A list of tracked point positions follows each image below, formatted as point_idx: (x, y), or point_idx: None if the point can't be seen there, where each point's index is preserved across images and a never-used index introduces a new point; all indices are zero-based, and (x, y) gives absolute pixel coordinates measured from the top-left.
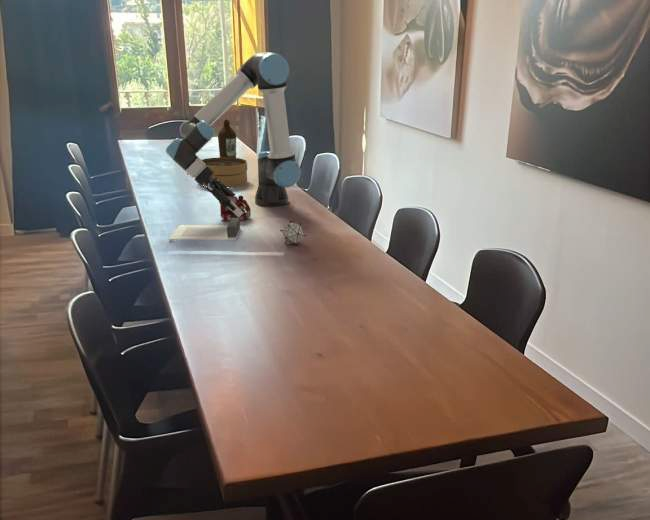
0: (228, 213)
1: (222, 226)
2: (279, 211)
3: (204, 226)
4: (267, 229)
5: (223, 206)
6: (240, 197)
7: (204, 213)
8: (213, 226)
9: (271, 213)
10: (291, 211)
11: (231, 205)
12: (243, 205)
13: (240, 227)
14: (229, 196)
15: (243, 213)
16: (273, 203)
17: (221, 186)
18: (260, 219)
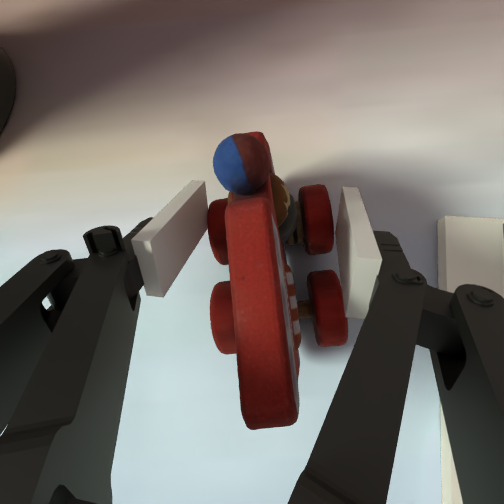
0: (337, 306)
1: None
2: (107, 61)
3: None
4: (450, 82)
5: (294, 355)
6: (266, 157)
7: None
8: None
9: (137, 92)
10: (116, 12)
11: (407, 263)
12: (271, 173)
13: (489, 222)
14: (241, 285)
15: (321, 194)
16: (1, 82)
17: (65, 446)
18: None
